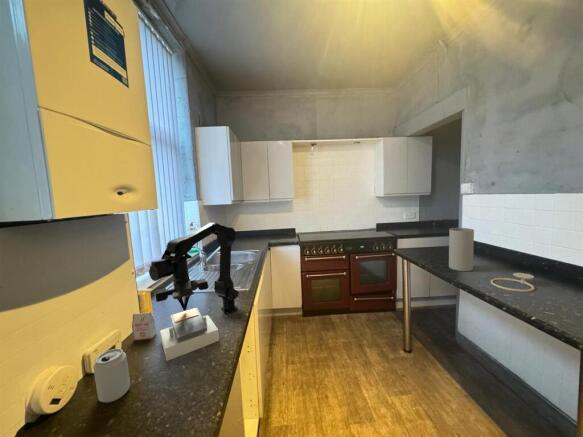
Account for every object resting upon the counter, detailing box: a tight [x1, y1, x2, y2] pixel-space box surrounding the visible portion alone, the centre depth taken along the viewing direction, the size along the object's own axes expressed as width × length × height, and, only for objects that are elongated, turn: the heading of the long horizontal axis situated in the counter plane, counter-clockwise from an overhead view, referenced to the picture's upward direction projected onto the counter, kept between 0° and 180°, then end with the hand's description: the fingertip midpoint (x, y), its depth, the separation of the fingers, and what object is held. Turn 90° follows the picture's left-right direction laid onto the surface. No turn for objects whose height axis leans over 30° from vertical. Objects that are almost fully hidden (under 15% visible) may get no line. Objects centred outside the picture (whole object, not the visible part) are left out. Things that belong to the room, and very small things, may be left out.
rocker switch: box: [170, 307, 207, 342], centre depth 93 cm, size 14×10×2 cm
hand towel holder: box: [490, 272, 535, 293], centre depth 127 cm, size 17×4×21 cm
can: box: [92, 348, 131, 403], centre depth 69 cm, size 8×8×12 cm
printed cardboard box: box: [131, 312, 157, 341], centre depth 98 cm, size 4×7×10 cm, turn 94°
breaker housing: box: [159, 314, 220, 362], centre depth 93 cm, size 14×18×8 cm
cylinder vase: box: [448, 227, 475, 272], centre depth 153 cm, size 12×12×25 cm
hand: (184, 310), depth 97 cm, fingers closed
